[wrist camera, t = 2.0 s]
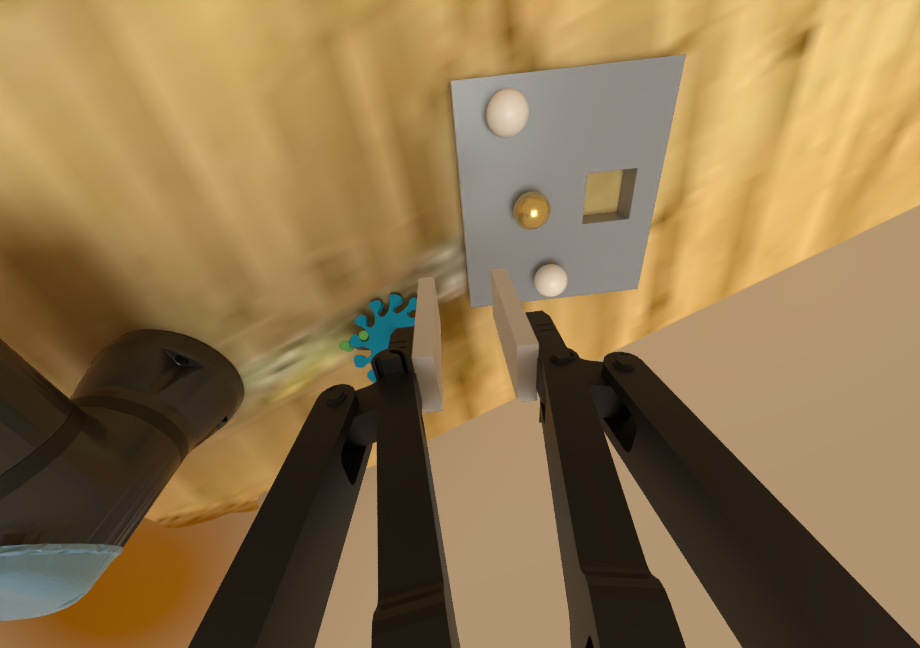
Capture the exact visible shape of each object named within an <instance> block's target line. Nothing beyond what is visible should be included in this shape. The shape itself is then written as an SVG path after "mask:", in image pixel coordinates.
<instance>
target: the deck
mask: <svg viewBox="0 0 920 648" xmlns="http://www.w3.org/2000/svg"><path fill="white" fill-rule="evenodd" d="M685 57H686V54H685V55H676V56H667V57H658V58H649V59H640V60H632V61H623V62H614V63H605V64H596V65H587V66H579V67H570V68H561V69H552V70H543V71H534V72H525V73H517V74H508V75H499V76H490V77H481V78H472V79H464V80H455V81H450V92H451V103H452V114H453V125H454V136H455V147H456V158H457V169H458V180H459V191H460V202H461V213H462V224H463V235H464V246H465V257H466V268H467V279H468V290H469V299H470V304H471V308H474V307H483V306H491V305H493V300H492V280H491V270H496V269H505V268H506V270H507V272H508V275H509V277H510V279H511V281H512V284H513V286H514V288H515V291H516V293H517V295H518V297H519V300H520V302H527V301H535V300H544V299H553V298H562V297H570V296H579V295H588V294H597V293H606V292H614V291H623V290H632V289H638V284H639V279H640V274H641V269H642V264H643V260H644V255H645V250H646V245H647V240H648V235H649V231H650V226H651V221H652V216H653V211H654V206H655V202H656V197H657V192H658V187H659V182H660V177H661V173H662V168H663V163H664V158H665V153H666V148H667V144H668V139H669V134H670V129H671V124H672V119H673V115H674V110H675V105H676V100H677V95H678V90H679V86H680V81H681V76H682V71H683V66H684V61H685ZM507 88H511V89H516V90H518V91H519V92H521V93H522V94H523V95H524V97H525V98H526V100H527V102H528V106H529V116H528V120H527V123H526V125H525V127H524V128H523V129H522V131H521V132H520V133H518V134H517V135H515V136H513V137H509V138H503V137H500V136H497V135H496V134H495V133H493V131H492V130H491V129H490V127H489V125H488V122H487V117H486V113H487V107H488V104H489V102H490V100H491V98H492V97H493V96H494V95H495V94H496V93H497V92H499V91H501V90H503V89H507ZM615 170H624V171H623V177H622V184H621V191H620V197H619V204H618V211H617V212H614V213H605V214H597V215H588V216H583V210H584V200H585V190H586V180H587V174H589V173H598V172H606V171H615ZM533 191H534V192H539V193H541V194H543V195H544V196H545V197H546V198H547V199H548V201H549V203H550V207H551V212H550V216H549V218H548V220H547V222H546V223H545V224H544V225H543V226H542V227H540V228H538V229H534V230H528V229H524V228H522V227H521V226H519V225H518V224H517V222H516V220H515V218H514V213H513V211H514V205H515V203H516V201H517V200H518V198H519V197H520V196H522V195H523V194H525V193H527V192H533ZM548 264H555V265H558V266H560V267H561V268H563V269H564V271H565V272H566V274H567V278H568V282H567V286H566V288H565V289H564V291H563V292H562V293H560V294H559V295H557V296H553V297H548V296H544V295H542V294H540V293H539V292H538V291H537V289H536V287H535V284H534V278H535V274H536V272H537V271H538V270H539V269H540V268H541V267H543V266H545V265H548Z"/></svg>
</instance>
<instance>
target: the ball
mask: <svg viewBox="0 0 920 648" xmlns="http://www.w3.org/2000/svg"><path fill="white" fill-rule="evenodd" d="M550 212H551V207H550V203H549V201H548V199H547V198H546V197H545V196H544V195H543V194H541V193H539V192H534V191H533V192H527V193H525V194H523V195H522V196H520V197H519V198H518V200H517V201H516V203H515V205H514V211H513V213H514V218H515V220H516V222H517V224H518V225H519V226H521V227H522V228H524V229H528V230H534V229H538V228H540V227H542V226H543V225H544V224H545V223H546V222H547V220H548V218H549V216H550Z"/></svg>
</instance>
